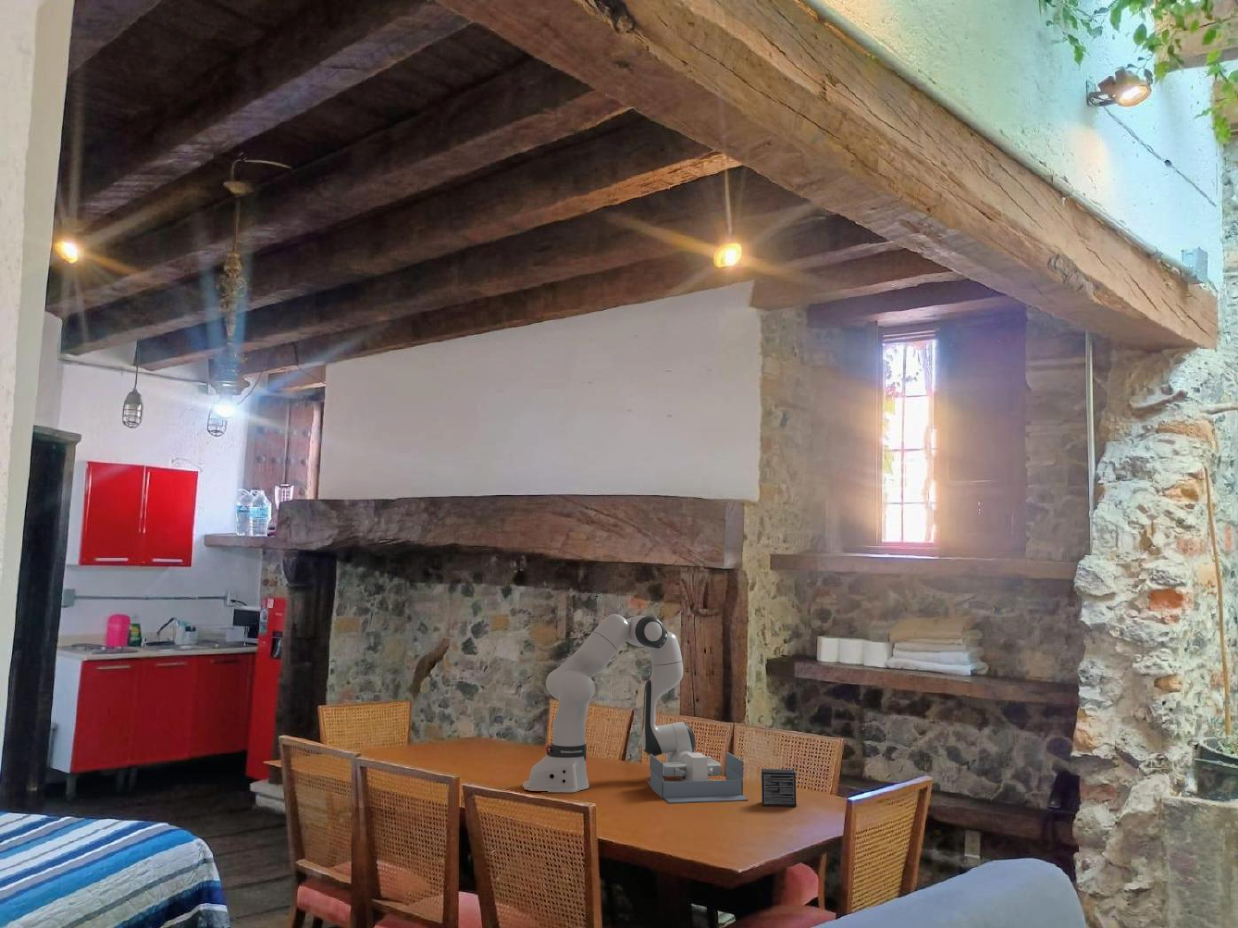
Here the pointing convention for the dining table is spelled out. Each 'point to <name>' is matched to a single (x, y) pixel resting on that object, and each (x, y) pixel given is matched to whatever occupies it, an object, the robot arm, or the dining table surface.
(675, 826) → the dining table surface
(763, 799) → the small box
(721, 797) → the blue-grey open walled piece
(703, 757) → the box
